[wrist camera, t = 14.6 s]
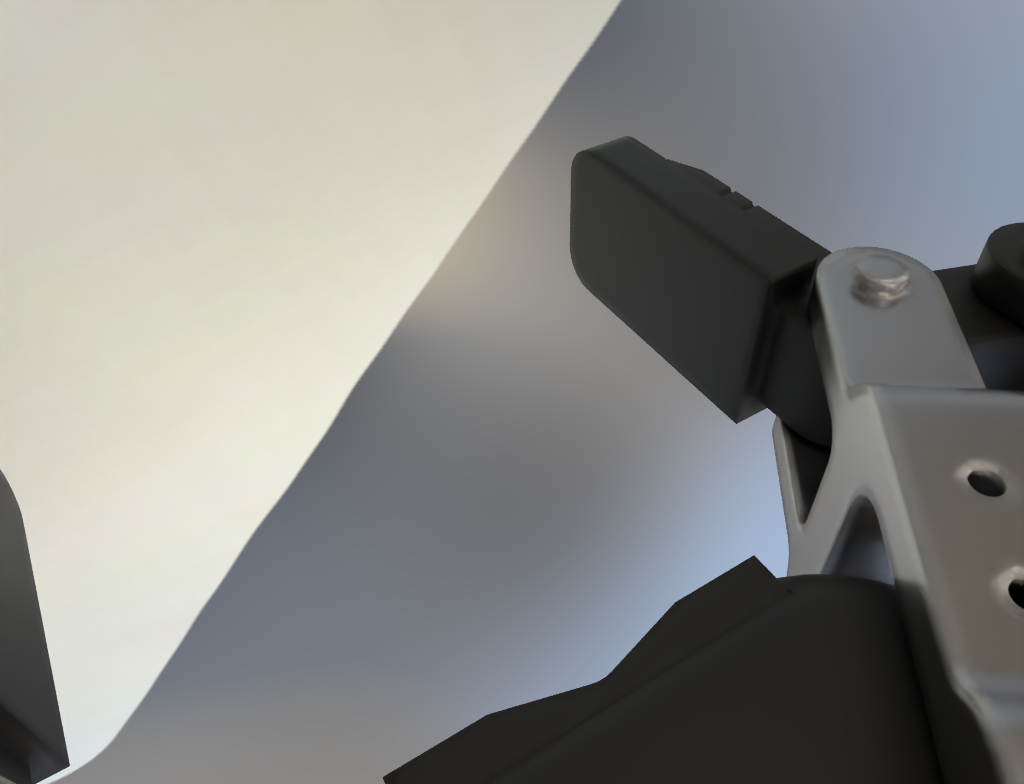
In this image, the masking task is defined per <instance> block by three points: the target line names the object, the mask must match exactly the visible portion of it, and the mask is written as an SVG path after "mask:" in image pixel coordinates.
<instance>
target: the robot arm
mask: <svg viewBox="0 0 1024 784" xmlns="http://www.w3.org/2000/svg"><path fill="white" fill-rule="evenodd" d="M570 253H571V259H572V263H573V266H574V269H575V271H576V273H577V275H578V277H579V279H580V280H581V282H582V284H583V285H584V286H585V287H586V288H587V289H588V290H589V291H590V292H591V293H592V294H593V295H594V296H595V297H596V298H598V299H599V300H600V301H601V302H602V303H603V304H604V305H605V306H606V307H607V308H609V309H610V310H611V311H612V312H613V313H614V314H615V315H616V316H617V317H619V318H620V319H621V320H622V321H623V322H624V323H625V324H626V325H627V326H629V327H630V328H631V329H632V330H633V331H634V332H635V333H636V334H637V335H638V336H640V337H641V338H642V339H643V340H644V341H645V342H646V343H647V344H648V345H650V346H651V347H652V348H653V349H654V350H655V351H656V352H657V353H658V354H660V355H661V356H662V357H663V358H664V359H665V360H666V361H667V362H668V363H669V364H671V365H672V366H673V367H674V368H675V369H676V370H677V371H678V372H679V373H681V374H682V375H683V376H684V377H685V378H686V379H687V380H688V381H689V382H691V383H692V384H693V385H694V386H695V387H696V388H697V389H698V390H699V391H701V392H702V393H703V394H704V395H705V396H706V397H707V398H708V399H709V400H710V401H712V402H713V403H714V404H715V405H716V406H717V407H718V408H719V409H720V410H721V411H723V412H724V413H725V414H726V415H727V416H728V417H729V418H730V419H731V420H733V421H734V422H735V423H736V424H737V423H739V422H741V421H743V420H745V419H747V418H748V417H750V416H752V415H754V414H756V413H758V412H760V411H762V410H764V409H766V408H768V409H770V410H771V411H772V412H773V413H774V414H776V418H775V422H774V425H773V430H772V435H773V442H774V449H775V456H776V462H777V469H778V475H779V482H780V489H781V495H782V501H783V508H784V515H785V521H786V528H787V534H788V543H789V563H788V571H787V577H781V578H775V576H774V575H773V574H772V573H771V572H770V571H769V570H768V569H767V568H766V567H765V566H764V565H763V564H762V563H761V562H760V561H759V560H758V559H757V558H756V557H755V556H752V557H751V558H749V559H747V560H745V561H744V562H742V563H740V564H739V565H737V566H736V567H734V568H732V569H730V570H729V571H727V572H725V573H724V574H722V575H720V576H719V577H717V578H715V579H714V580H712V581H710V582H709V583H707V584H705V585H704V586H702V587H700V588H699V589H697V590H695V591H694V592H692V593H691V594H689V595H687V596H685V597H684V598H682V599H680V600H678V601H677V602H675V603H674V605H672V606H671V608H670V609H669V610H668V611H667V612H666V613H665V614H664V615H663V616H662V618H660V620H659V621H658V622H657V623H656V624H655V625H654V626H653V627H652V628H651V629H650V630H649V632H648V633H647V634H646V635H645V636H644V637H643V638H642V639H641V640H640V642H638V644H637V645H636V646H635V647H634V648H633V649H632V650H631V651H630V652H629V653H628V654H627V656H626V657H625V658H624V659H623V660H622V661H621V662H620V663H619V664H618V665H617V666H616V667H615V669H614V670H613V671H612V672H611V673H610V674H609V675H608V676H606V677H605V678H603V679H602V680H600V681H598V682H596V683H593V684H590V685H587V686H583V687H580V688H577V689H573V690H570V691H566V692H563V693H560V694H556V695H553V696H549V697H546V698H543V699H540V700H536V701H532V702H529V703H526V704H522V705H519V706H515V707H512V708H508V709H505V710H502V711H498V712H495V713H492V714H488V715H486V716H485V717H483V718H481V719H480V720H478V721H476V722H475V723H473V724H471V725H469V726H468V727H466V728H464V729H463V730H461V731H459V732H458V733H456V734H454V735H453V736H451V737H449V738H448V739H446V740H444V741H443V742H441V743H439V744H438V745H436V746H434V747H433V748H431V749H429V750H428V751H426V752H424V753H423V754H421V755H419V756H417V757H416V758H414V759H412V760H411V761H409V762H407V763H406V764H404V765H402V766H401V767H399V768H397V769H396V770H394V771H392V772H391V773H389V774H388V775H386V776H384V777H383V779H384V782H385V784H1024V223H1014V224H1009V225H1006V226H1002V227H1000V228H998V229H997V230H995V231H994V232H993V233H991V235H990V236H989V238H988V240H987V242H986V245H985V247H984V249H983V251H982V253H981V256H980V258H979V260H978V263H977V264H975V265H969V266H963V267H956V268H949V269H942V270H936V271H932V270H930V269H929V268H928V267H927V266H926V265H924V264H923V263H921V262H920V261H918V260H916V259H914V258H912V257H910V256H908V255H905V254H902V253H900V252H896V251H892V250H889V249H883V248H877V247H852V248H846V249H842V250H839V251H836V252H834V253H831V252H830V251H828V250H827V249H825V248H823V247H822V246H820V245H819V244H817V243H816V242H814V241H812V240H811V239H809V238H808V237H806V236H805V235H803V234H802V233H800V232H799V231H797V230H795V229H794V228H792V227H791V226H789V225H787V224H786V223H784V222H783V221H781V220H780V219H778V218H777V217H775V216H773V215H772V214H771V213H769V212H767V211H766V210H764V209H762V208H761V207H760V206H756V207H754V206H753V204H752V201H750V200H749V199H747V198H745V197H744V196H742V195H741V194H739V193H737V192H733V193H732V192H731V189H730V187H728V186H727V185H725V184H724V183H722V182H721V181H719V180H717V179H716V178H714V177H713V176H711V175H710V174H708V173H707V172H705V171H703V170H700V169H697V168H694V167H691V166H688V165H684V164H681V163H678V162H675V161H671V160H669V159H665V158H664V157H662V156H661V155H659V154H658V153H656V152H654V151H653V150H652V149H650V148H648V147H647V146H645V145H644V144H642V143H641V142H639V141H638V140H636V139H634V138H632V137H629V136H626V137H622V138H618V139H616V140H613V141H610V142H607V143H604V144H601V145H598V146H595V147H592V148H589V149H586V150H583V151H581V152H579V153H577V154H576V156H575V157H574V160H573V162H572V167H571V213H570ZM69 766H70V764H69V759H68V753H67V748H66V743H65V738H64V732H63V727H62V722H61V717H60V712H59V706H58V701H57V696H56V691H55V685H54V680H53V675H52V670H51V665H50V659H49V654H48V649H47V644H46V638H45V633H44V628H43V623H42V618H41V612H40V607H39V602H38V597H37V591H36V586H35V581H34V576H33V571H32V565H31V560H30V555H29V550H28V544H27V539H26V534H25V529H24V524H23V519H22V515H21V511H20V508H19V505H18V503H17V500H16V498H15V495H14V493H13V491H12V489H11V487H10V485H9V483H8V481H7V480H6V478H5V476H4V474H3V473H2V471H1V470H0V784H36V783H38V782H40V781H42V780H44V779H46V778H48V777H50V776H52V775H53V774H55V773H57V772H59V771H61V770H63V769H65V768H67V767H69Z"/></svg>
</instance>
